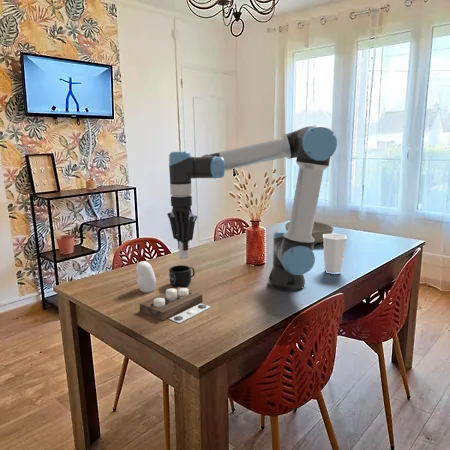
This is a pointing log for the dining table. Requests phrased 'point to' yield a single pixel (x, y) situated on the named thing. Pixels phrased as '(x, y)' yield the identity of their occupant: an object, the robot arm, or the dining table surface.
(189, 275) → the mug
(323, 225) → the bowl
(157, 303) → the button left
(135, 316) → the dining table surface
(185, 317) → the card
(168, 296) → the button middle
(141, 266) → the figurine
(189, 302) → the board
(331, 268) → the cup
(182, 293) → the button right
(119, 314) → the dining table surface
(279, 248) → the robot arm
